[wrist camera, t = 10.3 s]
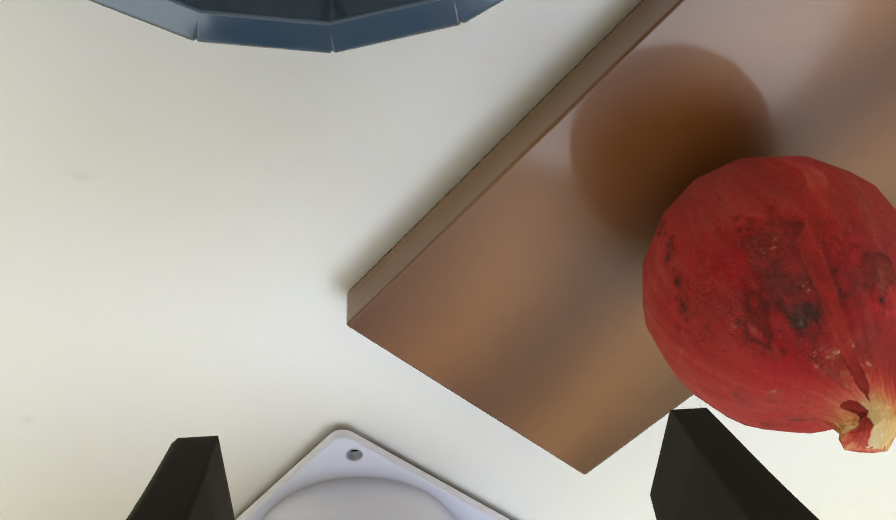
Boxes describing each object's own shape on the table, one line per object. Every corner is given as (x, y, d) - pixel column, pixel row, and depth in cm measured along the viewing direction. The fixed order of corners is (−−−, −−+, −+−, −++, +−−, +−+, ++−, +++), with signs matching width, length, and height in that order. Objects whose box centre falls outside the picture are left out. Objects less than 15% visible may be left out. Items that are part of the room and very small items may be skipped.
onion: (568, 173, 20) (678, 399, 13) (791, 57, 19) (1035, 239, 12) (649, 328, 23) (771, 574, 16) (845, 237, 22) (1063, 461, 15)
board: (1077, 56, 21) (1123, 76, 20) (574, 442, 27) (585, 476, 26) (894, -252, 17) (938, -250, 15) (346, 293, 23) (345, 325, 22)
